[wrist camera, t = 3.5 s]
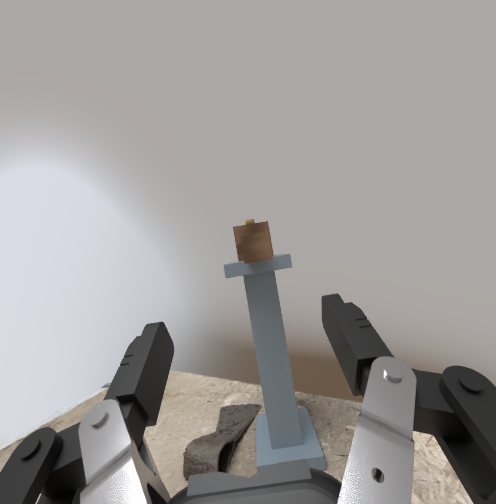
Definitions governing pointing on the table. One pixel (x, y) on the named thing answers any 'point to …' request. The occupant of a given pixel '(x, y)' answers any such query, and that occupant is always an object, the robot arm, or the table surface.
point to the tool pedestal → (275, 371)
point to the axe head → (218, 441)
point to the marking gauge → (253, 242)
